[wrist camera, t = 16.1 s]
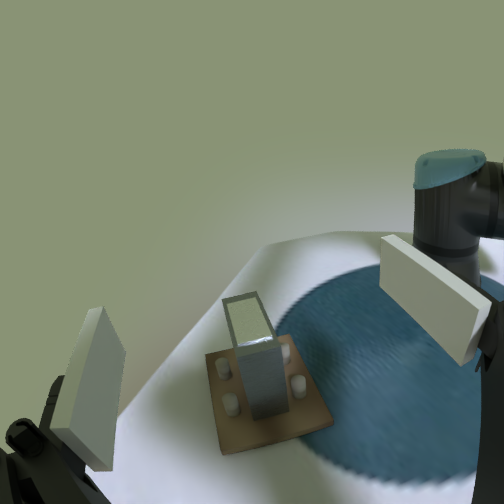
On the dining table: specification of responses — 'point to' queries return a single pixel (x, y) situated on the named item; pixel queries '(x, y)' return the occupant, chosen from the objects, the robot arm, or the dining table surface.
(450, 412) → the dining table surface
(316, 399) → the pin tray
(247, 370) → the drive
